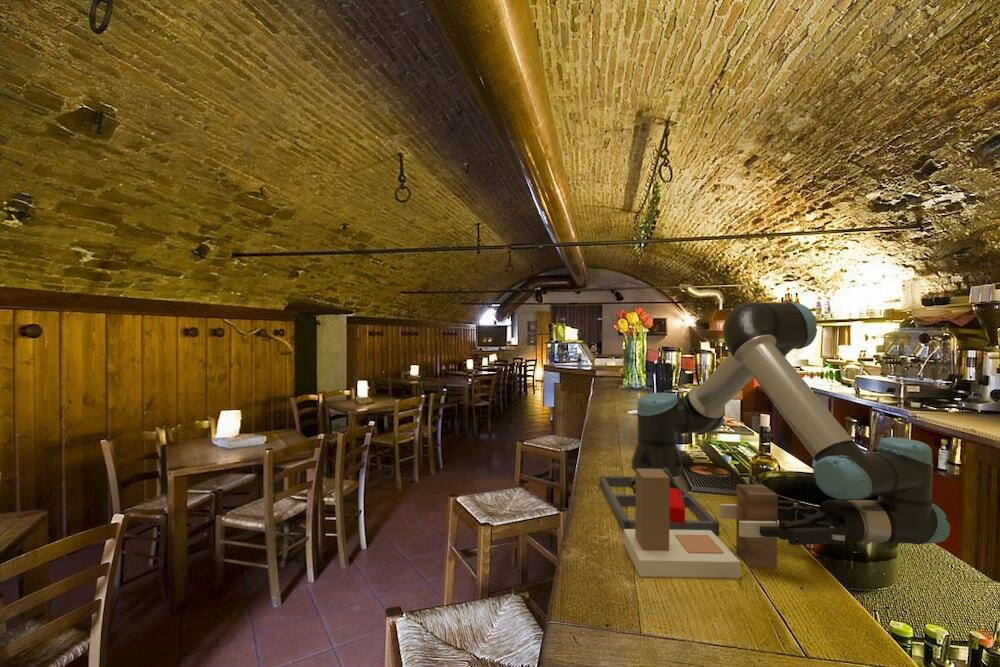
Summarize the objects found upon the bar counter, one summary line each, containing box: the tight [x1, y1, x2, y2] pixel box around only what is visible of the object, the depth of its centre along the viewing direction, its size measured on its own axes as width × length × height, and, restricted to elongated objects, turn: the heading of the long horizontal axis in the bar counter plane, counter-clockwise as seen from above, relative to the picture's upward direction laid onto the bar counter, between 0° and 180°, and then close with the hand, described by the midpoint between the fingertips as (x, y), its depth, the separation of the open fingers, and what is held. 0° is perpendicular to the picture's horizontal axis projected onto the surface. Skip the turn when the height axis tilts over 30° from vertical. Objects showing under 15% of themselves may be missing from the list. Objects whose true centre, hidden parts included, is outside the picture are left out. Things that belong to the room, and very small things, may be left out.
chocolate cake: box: [629, 467, 675, 495], centre depth 117 cm, size 10×7×12 cm
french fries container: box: [669, 488, 686, 527], centre depth 103 cm, size 7×9×14 cm
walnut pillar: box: [735, 483, 779, 569], centre depth 84 cm, size 5×5×14 cm
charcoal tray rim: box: [599, 475, 720, 536], centre depth 109 cm, size 29×20×2 cm
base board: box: [622, 469, 741, 579], centre depth 85 cm, size 12×18×17 cm, turn 88°
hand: (730, 519), depth 84 cm, fingers open, 7 cm apart
